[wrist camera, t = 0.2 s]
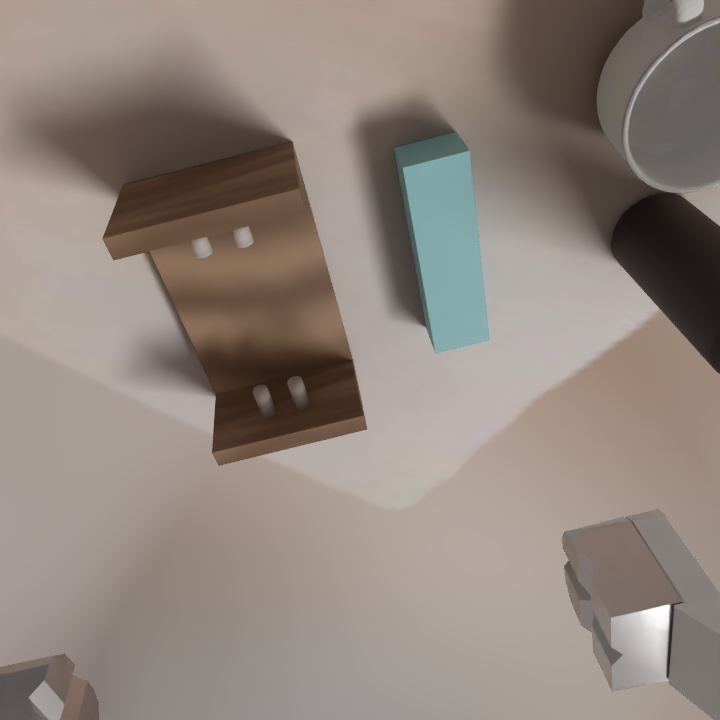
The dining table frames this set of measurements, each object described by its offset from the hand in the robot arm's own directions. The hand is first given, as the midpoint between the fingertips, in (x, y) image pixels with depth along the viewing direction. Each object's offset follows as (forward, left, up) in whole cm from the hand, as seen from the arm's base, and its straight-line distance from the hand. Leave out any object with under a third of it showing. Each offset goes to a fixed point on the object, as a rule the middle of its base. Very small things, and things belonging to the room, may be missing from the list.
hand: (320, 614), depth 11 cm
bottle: (+20, +26, -39) cm, 51 cm away
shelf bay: (+16, -6, -39) cm, 42 cm away
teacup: (+6, +25, -39) cm, 47 cm away
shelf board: (+16, +9, -39) cm, 43 cm away
